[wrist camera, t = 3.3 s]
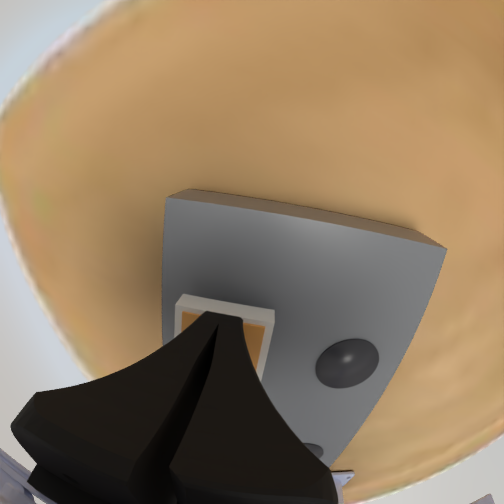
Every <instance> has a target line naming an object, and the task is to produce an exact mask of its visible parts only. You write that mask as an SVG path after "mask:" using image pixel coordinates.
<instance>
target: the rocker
mask: <svg viewBox="0 0 504 504" xmlns="http://www.w3.org/2000/svg"><path fill="white" fill-rule="evenodd" d="M205 311H211V312H216V313H221V314H227V315H232V316H238V317H241V318H242V319H243V330H244V336H245V341H246V345H247V348H248V351H249V354H250V358H251V360H252V363H253V366H254V368H255V371H256V373H257V375H258V377H259V380H260V382H261V380H262V375H263V371H264V367H265V363H266V359H267V354H268V350H269V346H270V341H271V337H272V333H273V328H274V324H275V310H272V309H266V308H260V307H254V306H248V305H242V304H236V303H230V302H225V301H219V300H214V299H208V298H203V297H198V296H193V295H188V294H182V296H181V297H180V299H179V300H178V301H177V303H176V304H175V328H174V338H175V337H176V336H177V335H179V334H180V333H181V332H182V331H184V330H185V329H186V328H187V327H188V326H189V325H191V324H192V323H193V322H194V321H195V320H196V319H197V318H198V317H199V316H200V315H201V314H202V313H204V312H205Z"/></svg>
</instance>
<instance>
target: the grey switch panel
mask: <svg viewBox="0 0 504 504" xmlns="http://www.w3.org/2000/svg"><path fill="white" fill-rule="evenodd" d="M446 251H447V248H445V247H443V246H442V245H440V244H439V243H437V242H435V241H434V240H432V239H430V238H429V237H427V236H425V235H424V234H422V233H420V232H419V231H415V230H411V229H407V228H403V227H399V226H395V225H390V224H386V223H382V222H377V221H373V220H368V219H364V218H359V217H354V216H350V215H345V214H340V213H335V212H330V211H325V210H320V209H315V208H309V207H304V206H298V205H293V204H287V203H281V202H275V201H270V200H263V199H257V198H251V197H244V196H238V195H231V194H224V193H217V192H209V191H202V190H194V189H187V190H184V191H181V192H179V193H176V194H173V195H171V196H168V197H166V204H165V218H164V234H163V257H162V338H163V346H164V345H165V344H167V343H168V342H170V341H171V340H172V339H174V328H175V304H176V303H177V301H178V300H179V299H180V297H181V296H182V294H188V295H193V296H198V297H203V298H208V299H214V300H219V301H225V302H230V303H236V304H242V305H248V306H254V307H260V308H266V309H272V310H275V324H274V328H273V333H272V337H271V341H270V346H269V350H268V354H267V359H266V363H265V367H264V371H263V375H262V380H261V384H262V386H263V388H264V389H265V391H266V393H267V395H268V397H269V398H270V400H271V402H272V403H273V405H274V406H275V408H276V410H277V411H278V412H279V414H280V415H281V416H282V418H283V419H284V420H285V422H286V423H287V424H288V426H289V427H290V428H291V430H292V431H293V432H294V433H295V435H296V436H297V437H298V438H299V439H300V440H301V441H302V442H303V444H304V445H305V446H306V447H307V448H308V449H309V450H310V451H311V452H312V453H313V454H314V455H315V456H316V457H317V458H318V459H320V460H321V461H322V462H323V463H324V464H325V465H326V466H327V467H330V466H331V465H332V464H333V463H334V461H335V460H336V459H337V458H338V456H339V455H340V454H341V453H342V451H343V450H344V449H345V448H346V446H347V445H348V444H349V442H350V441H351V440H352V438H353V437H354V436H355V434H356V433H357V431H358V430H359V429H360V427H361V426H362V424H363V423H364V422H365V420H366V419H367V417H368V416H369V414H370V413H371V411H372V410H373V408H374V407H375V405H376V403H377V402H378V400H379V399H380V397H381V395H382V394H383V392H384V391H385V389H386V387H387V385H388V384H389V382H390V380H391V379H392V377H393V375H394V373H395V371H396V370H397V368H398V366H399V364H400V362H401V360H402V359H403V357H404V355H405V353H406V351H407V349H408V347H409V345H410V343H411V341H412V339H413V336H414V334H415V332H416V330H417V328H418V326H419V323H420V321H421V319H422V317H423V314H424V312H425V310H426V307H427V305H428V302H429V300H430V297H431V295H432V292H433V290H434V287H435V284H436V281H437V279H438V276H439V273H440V270H441V267H442V264H443V261H444V258H445V255H446Z"/></svg>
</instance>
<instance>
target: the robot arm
mask: <svg viewBox="0 0 504 504" xmlns="http://www.w3.org/2000/svg"><path fill="white" fill-rule="evenodd" d="M11 431H12V432H13V435H14V436H15V438H16V439H17V441H18V442H19V443H20V444H21V446H22V447H23V448H24V449H25V450H26V452H27V453H28V454H29V455H30V456H31V457H32V458H33V460H34V461H35V462H36V463H37V465H36V466H35V468H34V470H33V471H32V472H30V471H29V470H27V469H26V468H25V467H23V466H22V465H21V464H19V463H18V462H16V461H15V460H14V459H13V458H11V457H10V456H9V455H8V454H7V453H5V452H4V451H3V450H2V449H0V504H36V503H35V501H34V497H33V495H34V496H36V497H37V498H39V499H40V500H42V501H43V502H45V503H46V504H344V500H343V492H342V487H343V486H344V485H345V484H346V483H347V482H348V481H349V480H350V479H351V478H352V477H353V476H354V475H355V472H353V471H351V472H333V473H331V471H330V468H329V467H327V466H326V465H325V464H324V463H323V462H322V461H321V460H320V459H318V458H317V457H316V456H315V455H314V454H313V453H312V452H311V451H310V450H309V449H308V448H307V447H306V446H305V445H304V444H303V442H302V441H301V440H300V439H299V438H298V437H297V436H296V435H295V433H294V432H293V431H292V430H291V428H290V427H289V426H288V424H287V423H286V422H285V420H284V419H283V418H282V416H281V415H280V414H279V412H278V411H277V410H276V408H275V406H274V405H273V403H272V402H271V400H270V398H269V397H268V395H267V393H266V391H265V389H264V388H263V386H262V384H261V382H260V380H259V377H258V375H257V373H256V371H255V368H254V366H253V363H252V360H251V358H250V354H249V351H248V348H247V345H246V341H245V336H244V330H243V319H242V318H241V317H238V316H232V315H227V314H221V313H216V312H211V311H205V312H204V313H202V314H201V315H200V316H199V317H198V318H197V319H196V320H195V321H194V322H193V323H192V324H191V325H189V326H188V327H187V328H186V329H185V330H184V331H182V332H181V333H180V334H179V335H177V336H176V337H175V338H174V339H172V340H171V341H170V342H168V343H167V344H165V345H164V346H162V347H161V348H160V349H158V350H157V351H155V352H154V353H152V354H150V355H149V356H147V357H145V358H144V359H142V360H140V361H138V362H136V363H135V364H133V365H131V366H129V367H127V368H124V369H122V370H120V371H117V372H115V373H112V374H110V375H108V376H105V377H102V378H99V379H96V380H93V381H90V382H87V383H84V384H79V385H76V386H71V387H66V388H61V389H55V390H49V391H42V392H36V393H35V394H34V395H33V397H32V398H31V399H30V400H29V401H28V402H27V404H26V405H25V406H24V408H23V409H22V410H21V412H20V413H19V414H18V415H17V417H16V418H15V419H14V421H13V422H12V423H11ZM31 493H32V494H33V495H32V494H31ZM471 504H494V501H493V498H492V495H491V494H488V495H486V496H484V497H482V498H480V499H478V500H476V501H475V502H473V503H471Z"/></svg>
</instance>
